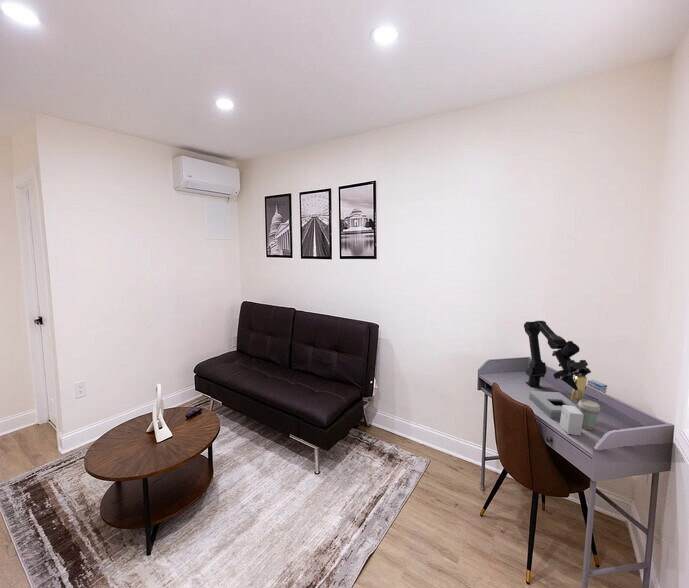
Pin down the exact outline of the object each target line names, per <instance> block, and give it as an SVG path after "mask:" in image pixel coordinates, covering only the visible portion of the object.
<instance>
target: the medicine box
mask: <svg viewBox="0 0 689 588" xmlns="http://www.w3.org/2000/svg"><path fill="white" fill-rule="evenodd" d="M587 385H589V386H591V387H593V388H595V389H597V390H599V391H601V392H603V393H606V392H607V388H608V384H604V383H602V382H600V381H597V380H594V379H590V380H588V379H587V381H586V386H587Z"/></svg>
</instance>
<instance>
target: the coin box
mask: <svg viewBox="0 0 689 588" xmlns="http://www.w3.org/2000/svg"><path fill="white" fill-rule="evenodd" d="M528 399H529V400H530V401H531V402H532V403H533V404H534V405H535V406H536V407H538V409H540V411H542V412H543V413H544V414H545V415H546V416H547V417H548V418H549V417H550V418H549V419H554V418H555V419H557V420H560V419H561V411H562V405H568V406H575V407H576V408H577V409H579V405H578V404H576V403H575V402H574V401H572V400H571V399H569V398H567V396H565V395H564V394H562V392H560V391H558V392H557V391H556V392H555V391H541V390H540V391H538V390H537V391H536V390H535V391H533V390H530V391H529V397H528ZM552 402H558V403H560V404H561V405H554V404H553V403H552Z"/></svg>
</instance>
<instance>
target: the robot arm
mask: <svg viewBox="0 0 689 588" xmlns="http://www.w3.org/2000/svg"><path fill="white" fill-rule="evenodd" d="M523 328H524V331H525V334H526V335H527V336H528V339H529V349H530V357H531V360H530V362H529V364H528V366H529V367H528V368H527V369H525V374H526V375H527V376H528V381H525V384H526V385H528V386H529V387H530V388H543V387H542V386H541V383H540V382H541V378H545V375H546V373H547V365H546V362H544V361H543V360H542V357H541V350H540V349H541V348H540V341H539V334H540V333H541V334H542V335H543V336H544V337H545V338H546V339H547V344H548V346H549V348H550V349H552V350H553V351H552V354H551V356H552V357H556V359H557V361H558V363H559V364H558V367H561V369H560V370H558V371H556V372H554V373H553V378H554V379H555V380H559V379H560V381H563V382H564V383H565V384H567V385H568V386H569V387H571V388H573V389H575V390H578V389H577V386H576V384H575V382H574V376H575V375H583V376H585V377H586V376H587V375H588V374H591V373H592V371H591V369H590V368H589V367H588V365H589V363H588V362H587V361H586V359H580V360H579V361H576V360H574V359H571V357H574V356H575V355H576V354H578V353H579V352H580V347H579V345H578V344H576V343H574V341H573V340H568V341H566V340H565V339H564V338H563V337H562V336H560V335H558V334H556V333H555V332H554V331H553V330H552V329H551V328H550V327H549V325H548V324H547V322H546V321H544V320H535V321H525V323H524V324H523ZM586 388H587V385H586V386H585V390H586Z"/></svg>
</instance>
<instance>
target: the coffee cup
mask: <svg viewBox="0 0 689 588" xmlns="http://www.w3.org/2000/svg"><path fill="white" fill-rule="evenodd" d="M577 406H578V407H579V409H578V410H579V411H580V412H581V413H582V414H584V417H583V423H582V429H584V430H587V431H588V430H589V431H593V430H594V428H595V425H596V422H597V419H598V416H599V413H600V411H601V406H600V404H599V403H597V402H595V401H593V400H590V399H584V398H583V399H582V400H580V401H579V402H578V403H577Z"/></svg>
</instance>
